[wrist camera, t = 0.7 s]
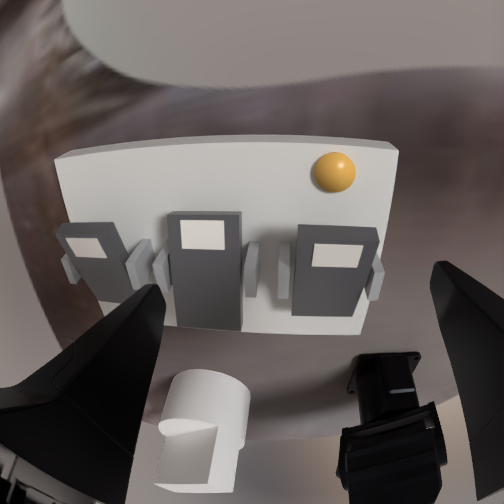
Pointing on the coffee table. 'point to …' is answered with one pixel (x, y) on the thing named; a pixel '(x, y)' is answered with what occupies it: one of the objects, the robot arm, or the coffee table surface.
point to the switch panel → (236, 209)
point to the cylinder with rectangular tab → (202, 432)
